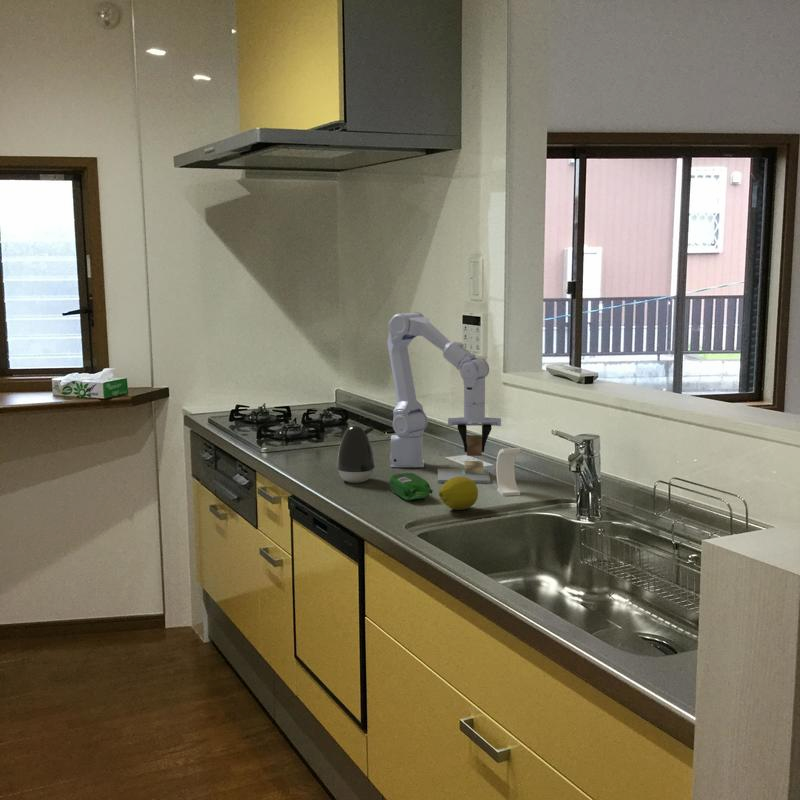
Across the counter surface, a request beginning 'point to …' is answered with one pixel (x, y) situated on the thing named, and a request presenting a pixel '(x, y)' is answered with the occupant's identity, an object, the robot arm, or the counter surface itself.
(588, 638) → the counter surface
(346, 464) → the egg-shaped speaker
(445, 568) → the counter surface
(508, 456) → the headphone stand
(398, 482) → the snack package
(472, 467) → the base block
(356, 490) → the counter surface
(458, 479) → the lemon
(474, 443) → the walnut block
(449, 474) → the board
